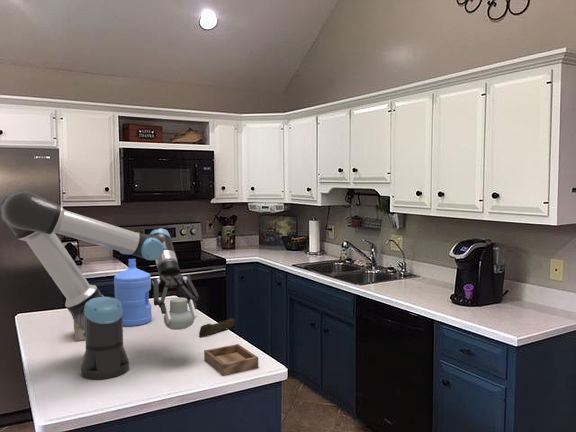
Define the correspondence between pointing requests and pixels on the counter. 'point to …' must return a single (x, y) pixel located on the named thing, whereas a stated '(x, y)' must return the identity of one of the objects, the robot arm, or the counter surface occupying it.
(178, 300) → the air freshener
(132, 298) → the water jug
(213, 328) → the hand tool
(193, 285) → the robot arm
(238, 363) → the tray
